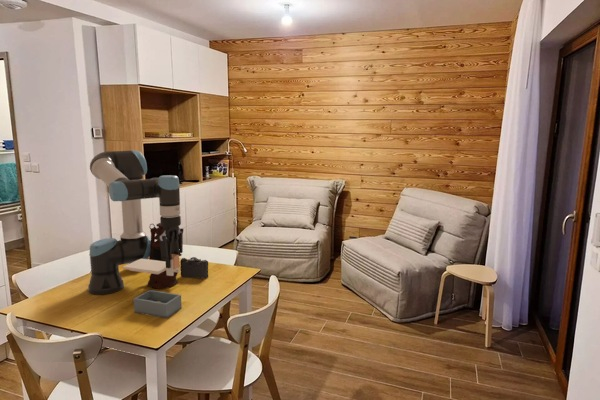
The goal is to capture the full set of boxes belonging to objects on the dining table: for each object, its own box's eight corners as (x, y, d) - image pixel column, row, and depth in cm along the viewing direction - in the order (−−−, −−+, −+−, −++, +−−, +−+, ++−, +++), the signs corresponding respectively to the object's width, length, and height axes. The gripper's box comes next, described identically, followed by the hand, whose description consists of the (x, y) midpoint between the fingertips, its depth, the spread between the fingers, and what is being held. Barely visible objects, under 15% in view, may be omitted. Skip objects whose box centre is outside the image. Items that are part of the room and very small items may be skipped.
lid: (123, 271, 161) (121, 254, 160) (141, 263, 171) (140, 247, 170) (169, 277, 155) (168, 260, 153) (185, 268, 165) (184, 252, 163)
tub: (134, 312, 168) (133, 298, 167) (150, 302, 177) (149, 289, 176) (166, 318, 163) (166, 304, 162) (181, 308, 172) (181, 294, 171)
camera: (212, 271, 216) (212, 253, 215) (206, 279, 206) (205, 260, 204) (187, 270, 218) (186, 253, 216) (179, 278, 207) (178, 259, 205)
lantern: (138, 283, 196) (138, 223, 190) (158, 274, 208) (159, 218, 203) (167, 291, 189) (168, 229, 184) (186, 281, 202) (187, 223, 196)
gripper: (165, 220, 147) (168, 282, 151) (190, 212, 163) (192, 268, 167) (148, 219, 150) (151, 279, 154) (174, 211, 165) (177, 266, 169)
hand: (173, 273), depth 160 cm, fingers closed on lid, 3 cm apart
